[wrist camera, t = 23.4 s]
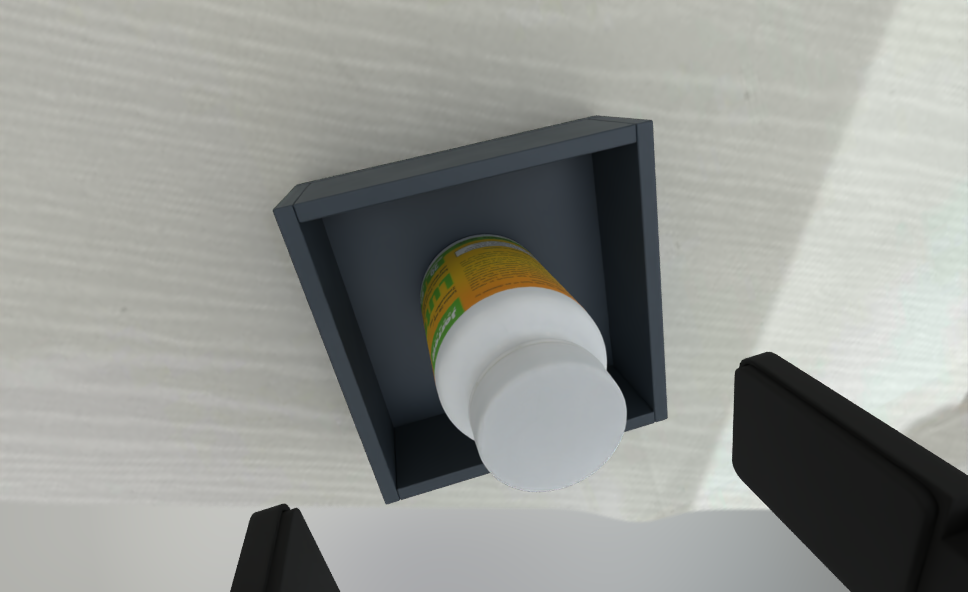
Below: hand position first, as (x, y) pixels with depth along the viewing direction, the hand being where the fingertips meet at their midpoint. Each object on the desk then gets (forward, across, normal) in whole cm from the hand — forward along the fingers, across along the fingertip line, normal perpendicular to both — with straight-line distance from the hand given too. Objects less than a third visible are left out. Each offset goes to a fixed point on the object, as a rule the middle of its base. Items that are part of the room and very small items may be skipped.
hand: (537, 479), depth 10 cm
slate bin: (+12, -1, +1) cm, 12 cm away
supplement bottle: (+12, -1, +1) cm, 12 cm away
